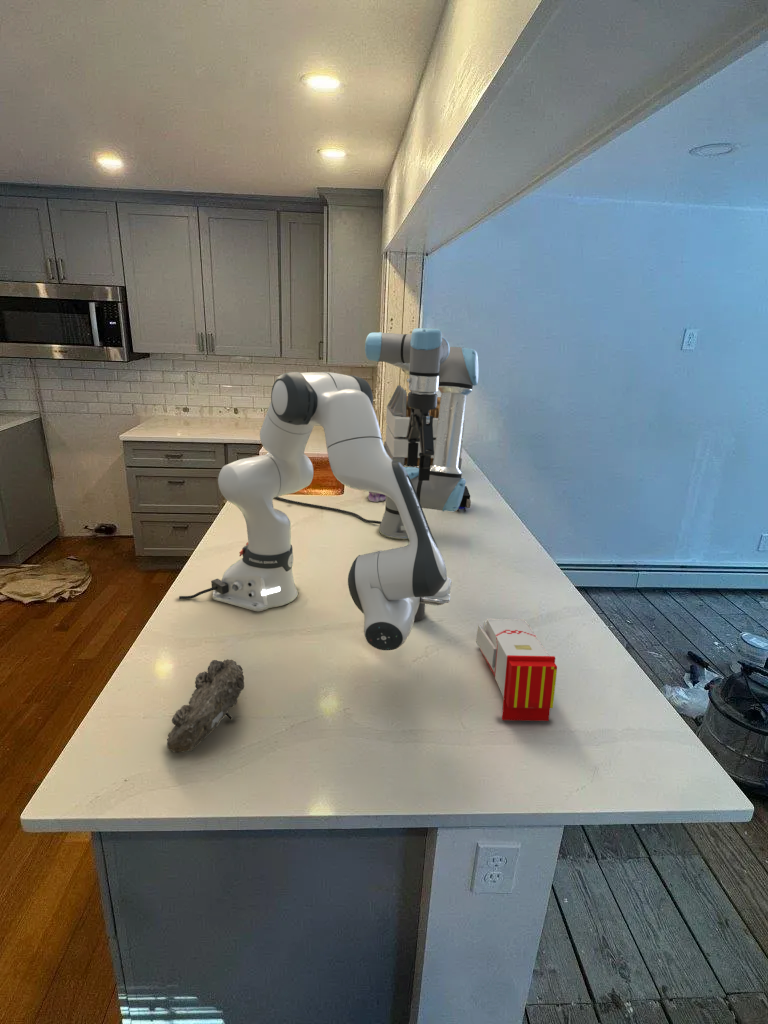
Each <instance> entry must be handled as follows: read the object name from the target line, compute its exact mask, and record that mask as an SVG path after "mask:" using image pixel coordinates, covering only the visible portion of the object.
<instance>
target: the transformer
mask: <svg viewBox="0 0 768 1024" xmlns="http://www.w3.org/2000/svg"><path fill="white" fill-rule="evenodd" d="M440 399H441V396H437V407H436V408H435V409H430V410H429V416H433V443H434V451H435V442H436V433H437V425H438V416H439V407H440ZM407 403H408V393H407V390H406V389H404V388H403V387H402V385H399V384H398V385H397V386H396V388H395V390H394V392H393V394H392V395H391V398H390V400H389V402H388V404H387V405H386V413H385V414H386V415H385V423H386V428H385V438H384V442H383V445H384V448H385V450H386V452H387V454H388V455H389V457H390V458H391V459H392V460H393V461H396V462H400V463H401V464H402V465H403V467H405V466H407V456H408V443H410V442H408V438H407V431H408V426H409V420H410V415H411V408H409V407H408V405H407ZM464 429H465V419H464V423H463V432H462V439H463V438H464V431H465V430H464ZM419 439H420V438H419ZM463 442H464V441H463V440H461V448H460V456H459V465H458V468H459V470H460V471H461V472H462V461H463V460H462V453H463ZM416 443H419V444H418V459H417V466H416V467H419V462H420V456H419V453H421V447H420V442H416ZM433 459H434V455H432V456H431V464H430V466H432V465H433Z"/></svg>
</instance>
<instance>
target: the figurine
mask: <svg viewBox="0 0 768 1024" xmlns="http://www.w3.org/2000/svg"><path fill="white" fill-rule="evenodd" d="M367 499H368V501H369V502H373V503H374V502H375V503H377V502H384V501H386V495H383V494H379V493H374V492H368V496H367Z"/></svg>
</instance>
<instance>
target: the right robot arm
mask: <svg viewBox="0 0 768 1024" xmlns="http://www.w3.org/2000/svg"><path fill="white" fill-rule="evenodd" d="M364 352H365V357H366V359H367V360H368V361H372V362H377V363H379V362H382V363H387V364H390V365H392V366H394V367H397V368H399V369H401V371H402V372H403V373H404V374H405V375H408V377H409V378H407V379H406V382H407V383H408V390H409V392H408V393H407V396H408V403H407V405H408V407H409V408H411V415H410V420H409V426H408V431H407V438H408V442H410V443H408V456H407V465H406V466H404V468H405V470H406V471H407V473H408V475H409V477H410V479H411V482H412V484H413V487H414V489H415V491H416V494H417V496H418V499H419V502H420V504H421V507H422V509H426V510H427V509H428V510H434V511H435V510H436V511H442V512H452V513H454V512H456V511H457V509H458V508H459V506H460V503H461V500H462V497H463V493H464V489H465V486H466V479H465V478H464V477H463V472H462V470H461V471H460V470H459V468H458V465H459V456H460V448H461V440H462V439H463V438H462V432H463V423H464V424H465V421H464V420H465V416H466V415H465V414H466V406H467V399H468V398H467V397H468V395H469V394H470V393H472V392H473V386H474V387H475V386H478V384H479V376H480V374H479V372H480V371H479V356H478V352H477V351H476V350H475V349H474V348H470V347H464V346H462V347H461V346H450V343H449V341H448V340H447V338H445V337H444V336H443V333H442V330H441V329H439V328H426V327H423V328H421V327H416V328H413V329H412V331H411V333H410V334H409V333H395V332H394V333H393V332H382V331H378V332H370V333H368V334H367V336H366V339H365V344H364ZM437 392H440V397H441V399H440V407H439V416H438V425H437V433H436V442H435V451H434V443H433V416H429V410H430V409H435V408H436V407H437V397H439V396H438V394H437ZM463 433H464V432H463ZM419 438H420V439H419ZM462 441H463V440H462ZM416 442H420V447H421V453H419V456H420V462H419V466H417V459H418V444H419V443H416ZM432 455H434V459H433V465H430V464H431V456H432ZM273 499H275V500H278V501H281V502H285V503H291V504H295V505H301V506H306V507H312V508H317V509H323V510H327V511H328V510H329V511H334V512H338V513H343V514H346V515H350V516H354V517H356V518H358V519H360V520H361V521H362V522H365V523H367V524H378V525H379V527H378V533H379V534H380V535H381V536H382V537H385V538H387V539H389V540H395V541H409V538H408V535H407V533H406V530H405V527H404V525H403V522H402V519H401V517H400V514H399V511H398V509H397V506H396V504H395V503H394V501H393V500H392V499H391V498H390V497H388V496H386V499H385V504H384V505H385V507H384V508H385V509H384V513H383V515H382V519H381V520H372V519H367V518H364V517H362V516H361V515H359V514H357V513H355V512H353V511H349V510H345V509H341V508H335V507H330V506H325V505H320V504H313V503H308V502H302V501H296V500H292V499H288V498H284V497H281V496H279V497H274V498H273Z"/></svg>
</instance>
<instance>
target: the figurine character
mask: <svg viewBox="0 0 768 1024" xmlns="http://www.w3.org/2000/svg"><path fill="white" fill-rule="evenodd" d="M471 501H472V500H471V494H470V491H469V488H468V486H467V485H465V489H464V493H463V497H462V500H461V503H460V506H459V508H458V509H457V510H456V511H457V512H460V510H463V511H464V513H466V512H467V509H470V508H471V505H472V504H471ZM466 508H467V509H466Z"/></svg>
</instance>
